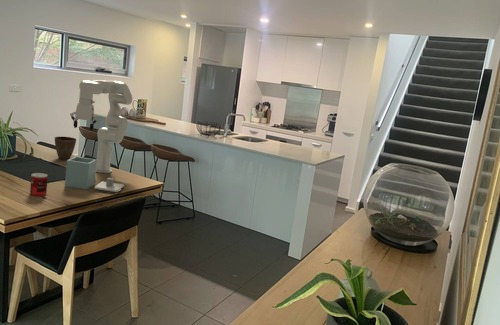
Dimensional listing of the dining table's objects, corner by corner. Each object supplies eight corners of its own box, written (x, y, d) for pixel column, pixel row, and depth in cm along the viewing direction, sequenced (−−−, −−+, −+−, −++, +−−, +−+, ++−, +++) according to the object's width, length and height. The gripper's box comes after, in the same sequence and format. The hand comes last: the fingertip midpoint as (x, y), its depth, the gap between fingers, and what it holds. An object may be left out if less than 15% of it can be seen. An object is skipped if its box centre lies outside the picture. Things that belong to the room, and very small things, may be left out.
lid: (101, 184, 244) (102, 174, 243) (124, 187, 245) (125, 177, 244) (94, 190, 230) (95, 179, 229) (117, 193, 231) (118, 183, 230)
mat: (102, 184, 244) (102, 184, 244) (124, 188, 245) (124, 187, 245) (94, 190, 230) (94, 190, 230) (117, 194, 231) (117, 193, 231)
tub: (73, 180, 242) (75, 156, 239) (94, 184, 243) (96, 159, 240) (64, 186, 229) (66, 160, 227) (86, 189, 230) (89, 163, 227)
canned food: (33, 191, 212) (35, 172, 210) (48, 193, 213) (50, 174, 211) (27, 195, 205) (28, 175, 203) (42, 197, 206) (44, 177, 204)
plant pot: (69, 162, 284) (70, 141, 282) (49, 159, 284) (50, 138, 281) (78, 158, 299) (79, 138, 296) (59, 155, 299) (60, 135, 296)
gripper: (101, 103, 242) (99, 130, 245) (74, 99, 241) (71, 126, 244) (97, 104, 234) (95, 131, 238) (68, 99, 233) (66, 127, 236)
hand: (83, 128), depth 241 cm, fingers open, 9 cm apart
